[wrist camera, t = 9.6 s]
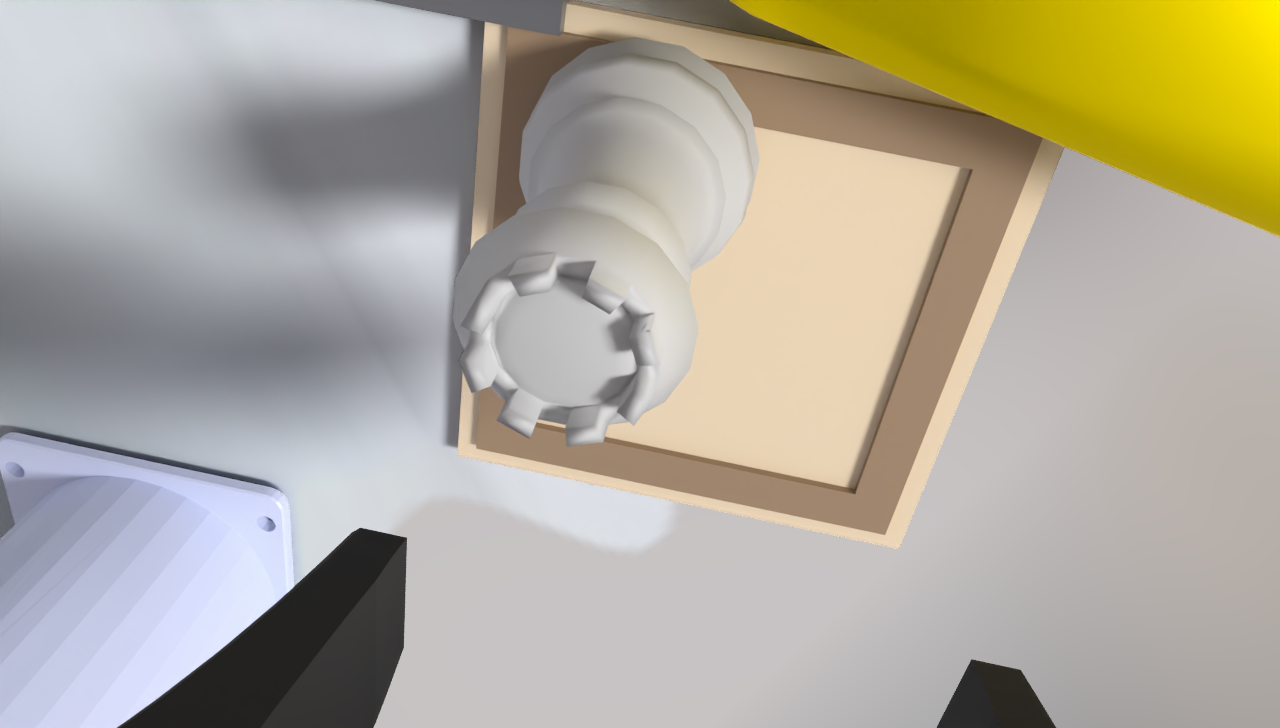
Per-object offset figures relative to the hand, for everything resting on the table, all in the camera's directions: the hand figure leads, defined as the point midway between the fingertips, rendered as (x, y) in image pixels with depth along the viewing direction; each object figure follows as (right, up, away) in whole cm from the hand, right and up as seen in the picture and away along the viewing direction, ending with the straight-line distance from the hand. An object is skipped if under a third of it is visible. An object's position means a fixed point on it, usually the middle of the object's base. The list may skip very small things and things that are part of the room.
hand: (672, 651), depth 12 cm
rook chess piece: (0, +8, +6) cm, 10 cm away
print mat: (+1, +5, +8) cm, 10 cm away
